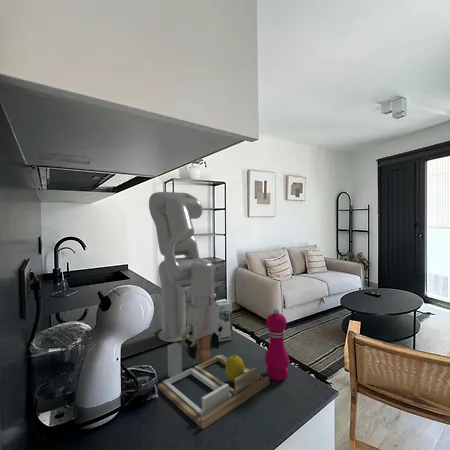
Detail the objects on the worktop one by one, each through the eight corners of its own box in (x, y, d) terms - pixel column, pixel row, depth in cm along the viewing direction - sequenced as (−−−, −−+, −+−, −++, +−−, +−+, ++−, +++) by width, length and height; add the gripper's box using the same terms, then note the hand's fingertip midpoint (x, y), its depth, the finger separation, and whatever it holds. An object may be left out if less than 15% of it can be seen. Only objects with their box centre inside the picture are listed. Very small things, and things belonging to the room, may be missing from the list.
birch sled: (188, 366, 85) (188, 337, 85) (212, 355, 92) (212, 328, 92) (234, 397, 70) (234, 362, 70) (259, 381, 76) (259, 349, 76)
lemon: (228, 390, 73) (228, 361, 73) (223, 378, 79) (222, 351, 79) (247, 386, 75) (246, 358, 75) (241, 375, 80) (240, 349, 80)
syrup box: (218, 342, 103) (217, 304, 103) (215, 335, 108) (214, 300, 108) (232, 340, 104) (232, 303, 104) (229, 334, 110) (228, 299, 110)
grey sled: (157, 380, 78) (156, 349, 78) (186, 367, 85) (185, 338, 84) (201, 419, 62) (200, 380, 62) (232, 399, 69) (231, 364, 69)
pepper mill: (265, 367, 85) (264, 304, 84) (288, 368, 83) (287, 305, 83) (265, 380, 77) (263, 312, 77) (290, 382, 76) (289, 313, 76)
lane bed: (158, 388, 75) (158, 381, 75) (221, 358, 91) (221, 352, 91) (202, 429, 60) (202, 420, 60) (269, 384, 76) (269, 377, 76)
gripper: (215, 292, 96) (216, 340, 96) (173, 303, 84) (175, 357, 84) (229, 296, 90) (231, 347, 90) (187, 308, 79) (188, 366, 79)
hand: (204, 352), depth 87 cm, fingers open, 9 cm apart
